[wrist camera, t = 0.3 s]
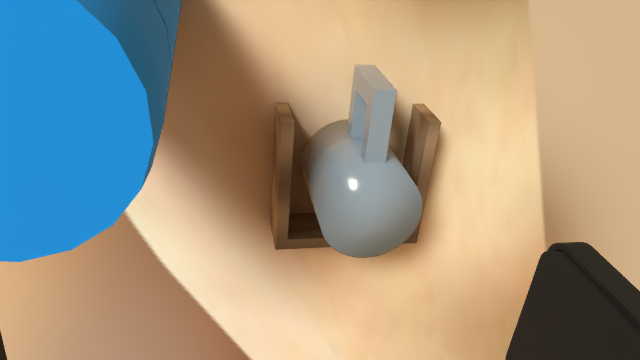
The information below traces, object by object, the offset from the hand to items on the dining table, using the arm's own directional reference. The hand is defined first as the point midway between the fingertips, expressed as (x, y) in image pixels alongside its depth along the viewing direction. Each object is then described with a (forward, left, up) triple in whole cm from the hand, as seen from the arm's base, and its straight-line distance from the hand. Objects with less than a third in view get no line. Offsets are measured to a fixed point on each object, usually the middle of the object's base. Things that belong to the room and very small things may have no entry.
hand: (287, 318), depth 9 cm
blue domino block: (+1, -8, -35) cm, 36 cm away
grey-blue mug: (+13, +11, -35) cm, 39 cm away
